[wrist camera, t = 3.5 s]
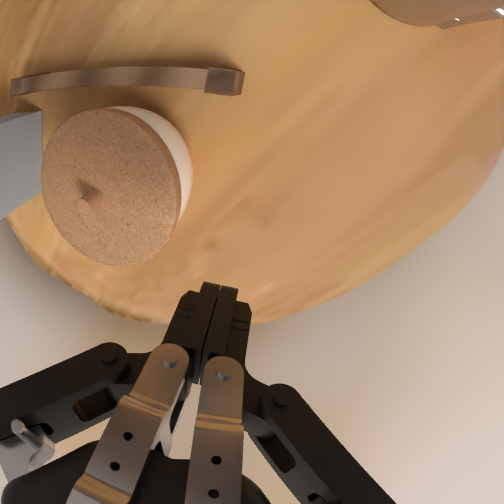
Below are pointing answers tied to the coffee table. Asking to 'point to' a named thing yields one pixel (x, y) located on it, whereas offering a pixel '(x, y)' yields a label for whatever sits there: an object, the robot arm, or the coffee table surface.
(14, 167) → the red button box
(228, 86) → the brown curved bar
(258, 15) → the coffee table surface
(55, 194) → the lidded bowl
